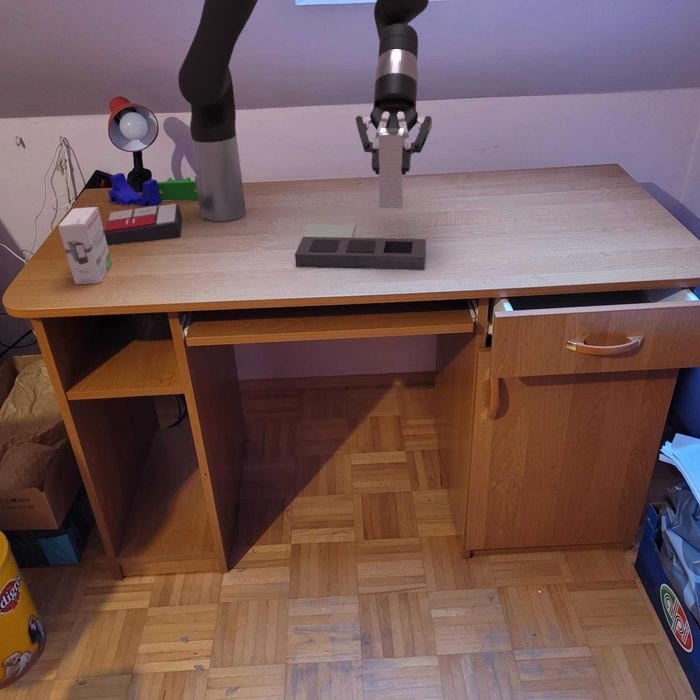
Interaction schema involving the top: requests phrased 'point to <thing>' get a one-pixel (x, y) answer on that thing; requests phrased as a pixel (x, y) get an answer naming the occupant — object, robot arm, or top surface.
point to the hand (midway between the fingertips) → (390, 172)
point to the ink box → (85, 245)
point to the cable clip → (133, 192)
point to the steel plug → (390, 167)
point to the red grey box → (144, 224)
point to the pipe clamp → (178, 189)
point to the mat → (330, 231)
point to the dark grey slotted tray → (361, 253)
